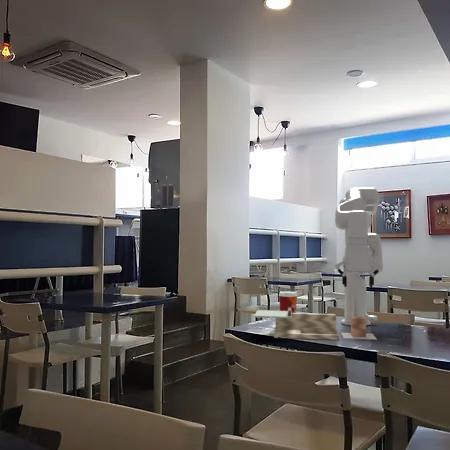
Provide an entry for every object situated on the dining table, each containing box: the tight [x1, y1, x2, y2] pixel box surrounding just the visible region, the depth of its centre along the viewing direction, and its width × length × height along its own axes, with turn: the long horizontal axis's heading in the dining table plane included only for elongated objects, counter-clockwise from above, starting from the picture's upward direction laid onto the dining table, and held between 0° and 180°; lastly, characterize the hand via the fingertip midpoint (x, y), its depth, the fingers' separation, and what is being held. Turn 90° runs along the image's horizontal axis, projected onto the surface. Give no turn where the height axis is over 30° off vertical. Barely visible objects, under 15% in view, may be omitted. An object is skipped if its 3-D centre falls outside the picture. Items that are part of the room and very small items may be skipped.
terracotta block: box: [350, 316, 367, 337], centre depth 181 cm, size 5×5×7 cm
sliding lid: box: [254, 308, 291, 319], centre depth 185 cm, size 14×15×3 cm
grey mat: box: [340, 332, 378, 341], centre depth 181 cm, size 12×10×1 cm
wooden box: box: [273, 312, 340, 341], centre depth 184 cm, size 24×16×8 cm, turn 82°
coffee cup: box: [278, 291, 299, 313], centre depth 202 cm, size 8×8×15 cm
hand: (358, 286), depth 182 cm, fingers open, 9 cm apart
